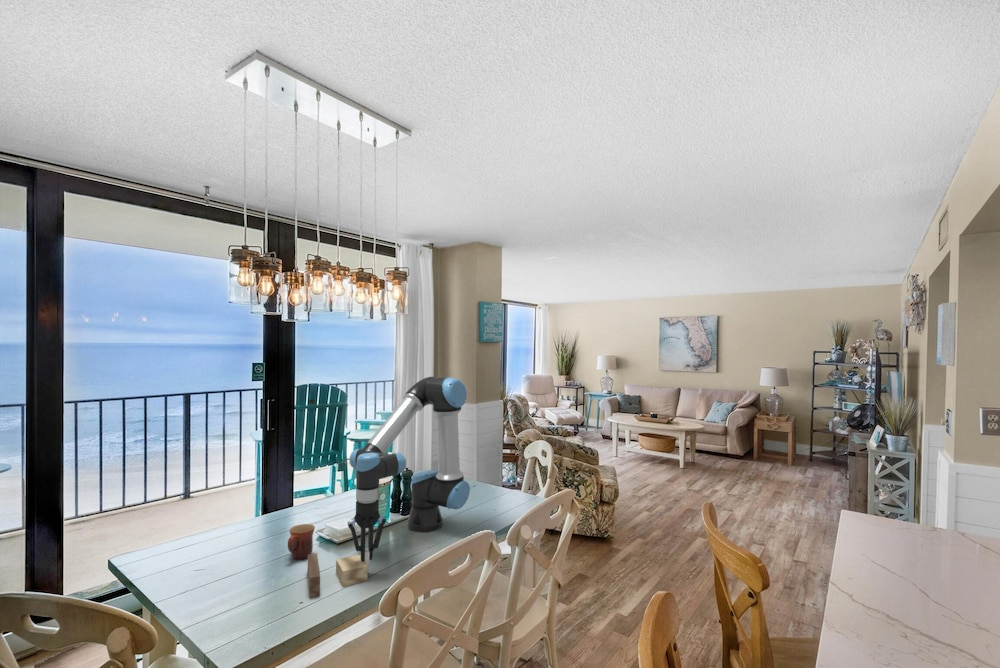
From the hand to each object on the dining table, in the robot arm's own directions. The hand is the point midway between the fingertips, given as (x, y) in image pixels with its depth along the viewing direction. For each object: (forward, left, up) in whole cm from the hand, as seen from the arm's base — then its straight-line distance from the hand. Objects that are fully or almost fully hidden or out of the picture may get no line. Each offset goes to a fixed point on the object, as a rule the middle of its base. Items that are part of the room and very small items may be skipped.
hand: (366, 569), depth 164 cm
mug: (+21, -22, -2) cm, 30 cm away
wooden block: (+17, 0, -2) cm, 17 cm away
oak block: (+5, 0, -2) cm, 5 cm away
